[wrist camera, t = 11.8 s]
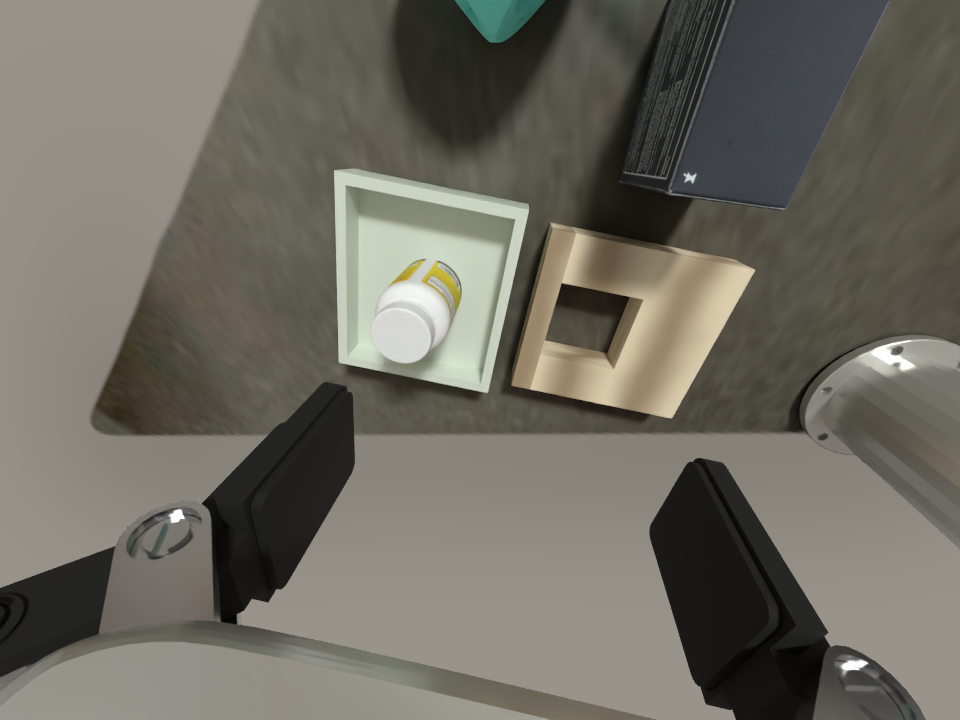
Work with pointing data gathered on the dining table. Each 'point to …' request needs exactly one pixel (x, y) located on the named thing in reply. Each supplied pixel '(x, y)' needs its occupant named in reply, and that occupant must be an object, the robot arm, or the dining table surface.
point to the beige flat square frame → (628, 319)
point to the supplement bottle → (416, 310)
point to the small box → (743, 95)
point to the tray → (415, 235)
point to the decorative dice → (499, 16)
